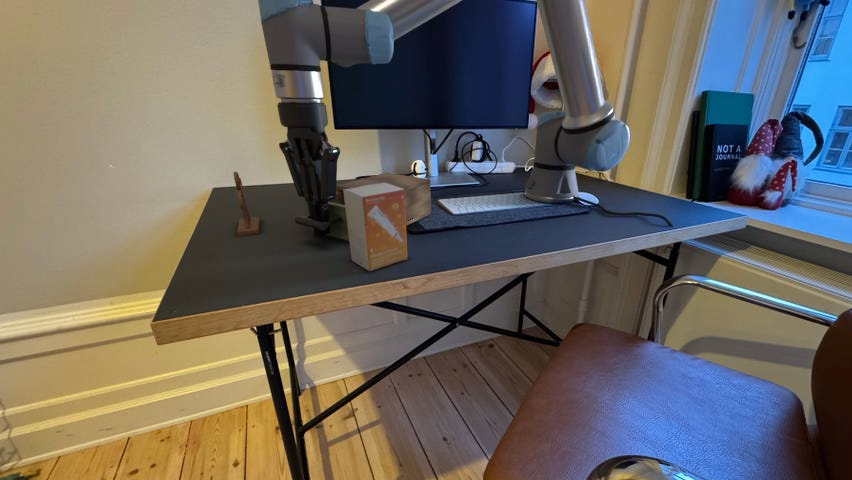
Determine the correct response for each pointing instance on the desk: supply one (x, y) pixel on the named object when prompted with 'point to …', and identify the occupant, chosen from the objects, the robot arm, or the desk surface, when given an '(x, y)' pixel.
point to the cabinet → (413, 188)
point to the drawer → (330, 219)
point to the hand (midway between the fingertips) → (322, 234)
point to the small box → (376, 224)
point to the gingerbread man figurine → (245, 212)
